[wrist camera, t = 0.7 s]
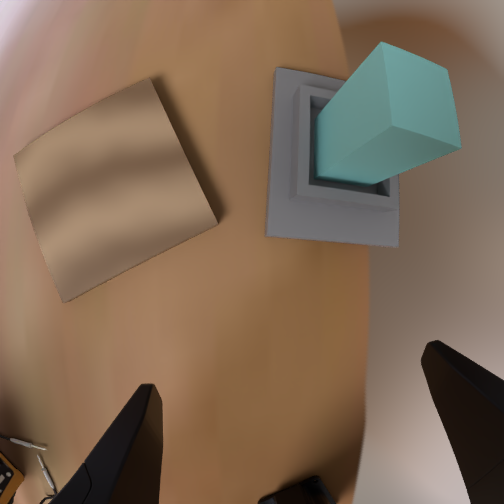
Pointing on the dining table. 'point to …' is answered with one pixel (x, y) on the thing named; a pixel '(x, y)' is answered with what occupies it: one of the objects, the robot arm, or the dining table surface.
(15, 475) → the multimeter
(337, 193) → the case base
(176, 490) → the dining table surface
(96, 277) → the board
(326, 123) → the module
